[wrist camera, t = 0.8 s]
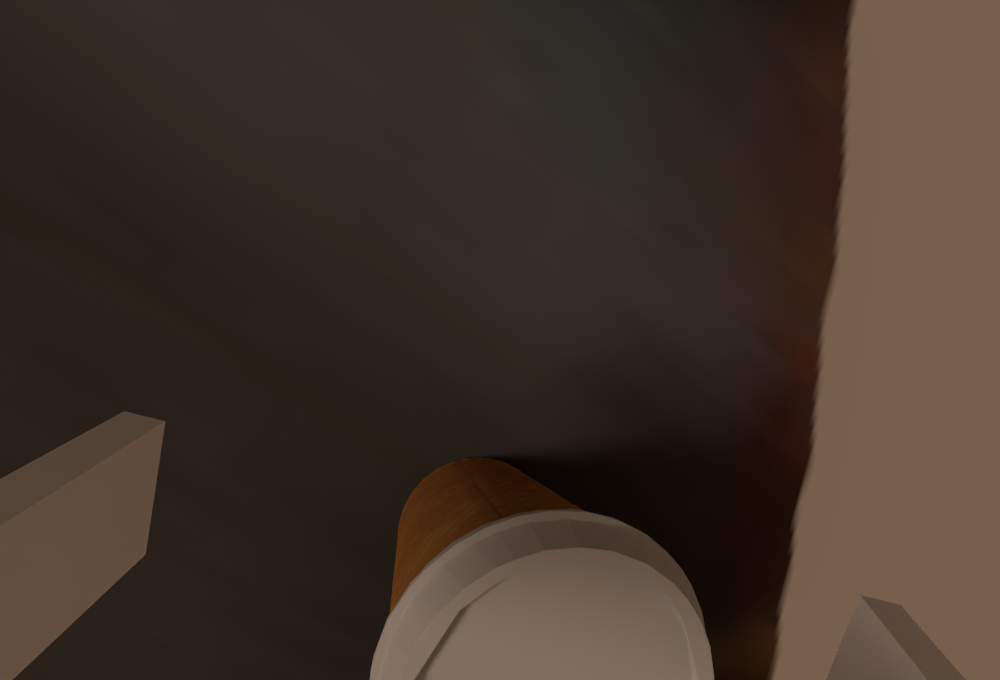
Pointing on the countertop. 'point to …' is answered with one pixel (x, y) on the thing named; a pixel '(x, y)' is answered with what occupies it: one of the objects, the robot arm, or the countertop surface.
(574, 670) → the disposable coffee cup
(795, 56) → the countertop surface
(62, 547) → the robot arm
